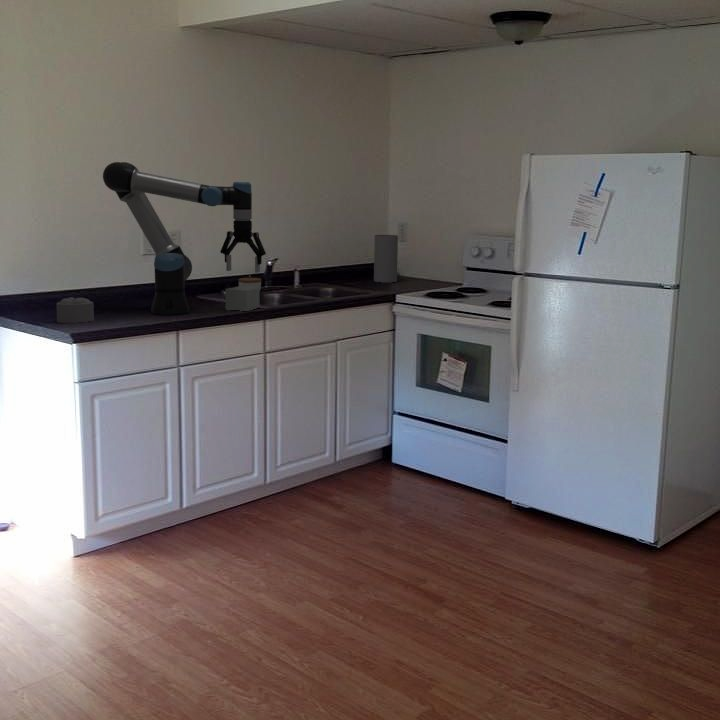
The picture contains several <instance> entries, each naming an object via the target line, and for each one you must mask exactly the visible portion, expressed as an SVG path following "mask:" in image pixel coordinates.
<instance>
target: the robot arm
mask: <svg viewBox="0 0 720 720" xmlns="http://www.w3.org/2000/svg"><path fill="white" fill-rule="evenodd" d="M102 181H103V182H104V185H105V186H106V188H108V189H110V190H111V191H113V192H115V193H116V195H117V197H118V198H119V201H120V202H124V203H125V204H126V205H127V207H128V209H129V210H130V212H131V213H132V215H133V217H134V219H135V221H136V222H137V224H138V226H139V228H140V229H141V230H142V232H143V234H144V236H145V238H146V239H147V241H148V243H149V244H150V245H149V246H150V247H151V248H152V249H153V251H154V253H155V255H154V256H155V257H154V260H153V261H154V262H153V267H154V291H155V292H154V297H153V301H152V305H151V308H150V310H151V314H154V315H162V316H163V315H164V316H165V315H167V316H168V315H169V316H174V315H185V314H188V313H190V305H189V302H188V299H187V296H186V293H185V292H186V291H185V290H186V289H185V281H187V280H188V278H190V276H191V274H192V271H193V264H192V261H191V259H190V258H189V256H187V255H186V254H185V253H184V251H183V250H182V248H181V247H180V245H178V244H175V243H174V242H173V240H172V238H171V237H170V235H169V232H168V230H167V229H166V227H165V226H164V224H163V222H162V221H161V219H160V217H159V215H158V213H157V212H156V210H155V208H154V207H153V205H152V203H151V201H150V199H149V198H148V196H147V195H146V194H151V195H154V196H155V195H156V196H160V197H166V198H172V199H177V200H182V201H187V202H191V203H196V204H201V205H206V206H208V207H216V206H233V209H232V211H233V213H232V215H233V216H232V217H233V221H232V222H233V231H232V230H228V231H227V232H226V237H225V240H224V242H223V243H222V246H221V249H220V250H219V252H220V254H223V255H224V263H225V264H226V265H225V266H226V269H225V270H226V272H230V271H232V255H231V252H232V251H233V250H234V248H235V247H236V246H237V244H241V243H243V244H247V245H248V247H250V249H251V250H252V252H253V253H254V254H255V256H254V273H256V274H257V273H261V265H262V259H263V256H265V255H267V252H266V250H265V248H264V245H263V243H262V241H261V238H260V234H259V232H257V231H256V232H252V229H253V222H252V219H253V216H252V212H253V210H252V205H253V204H252V203H253V202H252V200H253V196H252V195H253V193H252V192H253V191H252V184H251V182H249V181H234V182H233V183H232V185H231V186H220V185H219V186H217V185H216V186H215V185H208V184H201V183H197V182H192V181H187V180H182V179H177V178H172V177H168V176H162V175H156V174H151V173H147V172H142V171H139V168H137V167H136V166H135V165H133V164H132V163H130V162H127V161H125V162H124V161H122V162H120V161H114V162H111V163H109V164H108V165H106V167H105V168H104V169H103V173H102ZM233 237H234V238H233ZM232 238H233V240H232ZM252 238H253V239H252ZM231 240H232V241H231ZM253 240H254V241H253ZM254 242H255V243H254Z"/></svg>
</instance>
